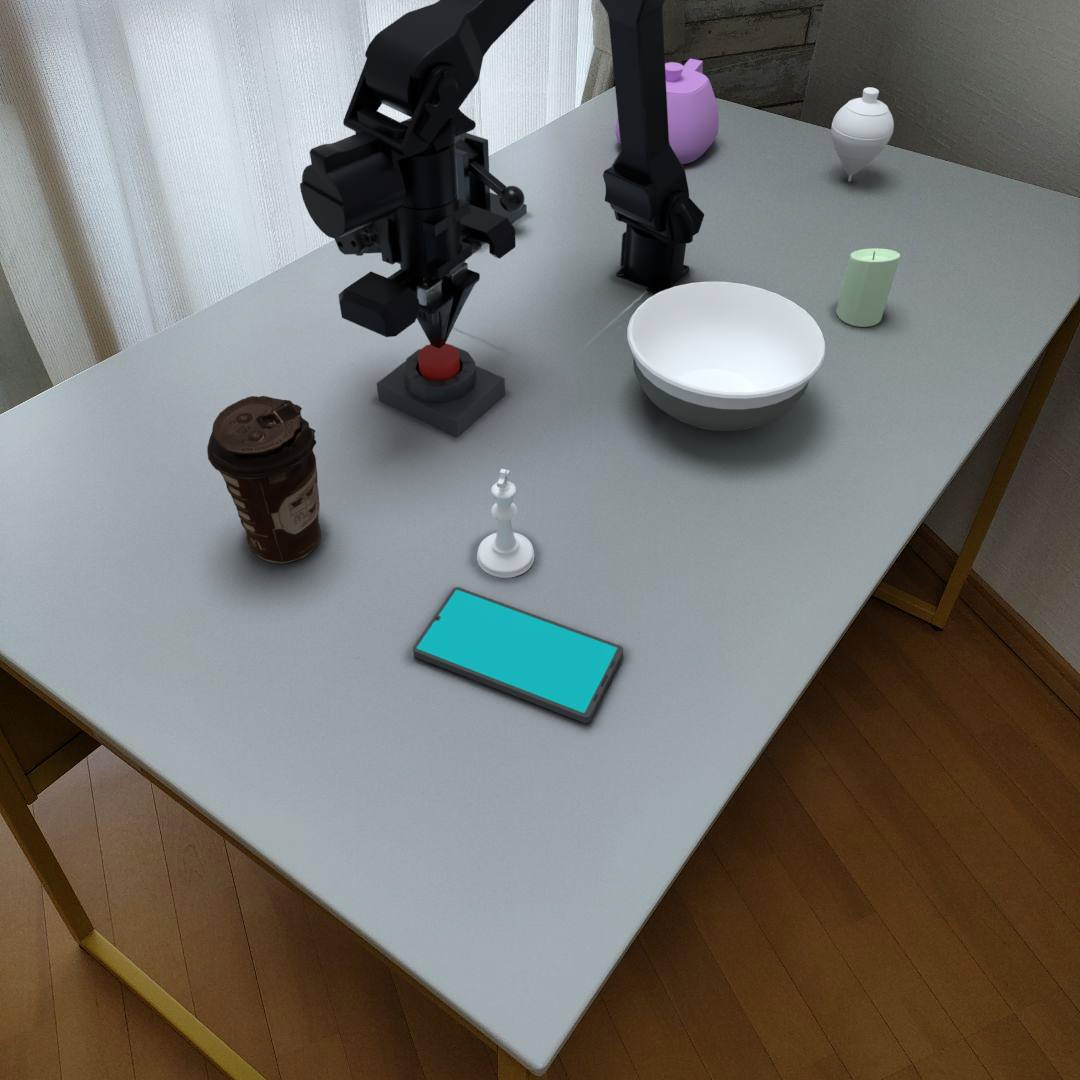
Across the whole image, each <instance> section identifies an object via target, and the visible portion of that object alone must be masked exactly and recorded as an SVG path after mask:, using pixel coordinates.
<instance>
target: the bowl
mask: <svg viewBox="0 0 1080 1080" xmlns="http://www.w3.org/2000/svg"><path fill="white" fill-rule="evenodd" d="M626 329H627V330H626V335H627V342H628V345H629V348H630V350H631V353H632V357H633V358H632V359H633V360H632V361H633V371H634V374H635V376H636V379H637V382H638V383H639V385H640V386H641V388H642V390H643V392H644V394H645V395H646V396H647V397H648V398H649V400H650V401H651V402H652V403H653V405H655V406H656V407H657V408H659V409H660V410H661V411H662V412H664V413H665V414H668V415H669V416H670V417H672V418H674V419H675V420H677V421H679V422H682V423H684V424H686V425H689V426H692V427H695V428H700V429H702V430H710V431H716V432H717V431H718V432H723V431H724V432H732V431H742V430H748V429H752V428H755V427H759V426H765V425H766V424H768V423H770V422H773V421H775V420H777V419H779V418H780V417H782V416H783V415H784V414H786V413H787V412H788V411H789V410H791V408H793V407H794V406H795V405H797V403H798V402H799V401H800V399H801V398H802V397H803V396H804V395H805V393H806V391H807V389H808V386H809V384H810V380H811V379H812V377H814V375H815V373H817V371H818V370H819V369H820V368H821V367H822V364H823V362H824V359H825V357H826V342H825V337H824V334H823V332H822V329H821V328H820V327H819V325H818V323H817V321H816V319H814V318H813V317H812V316H811V315H810V314H809V313H808V312H807V311H806V310H805V309H804V308H803V307H801V306H799V305H798V304H796V303H795V302H794V301H793V300H790V299H788V298H786V297H784V296H782V295H780V294H778V293H775V292H773V291H770V290H767V289H765V288H762V287H758V286H753V285H750V284H745V283H739V282H738V283H737V282H730V281H699V282H690V283H685V284H680V285H674V286H673V287H671V288H669V289H667V290H664V291H661V292H659V293H655V294H654V295H652V296H649V297H648V298H647V299H646V300H644V301H643V303H641V304H640V305H639V306H638V307H637V308H636V310H635V311H634V312H633V314H632V315H631V317H630V319H629V321H628V325H627V328H626Z"/></svg>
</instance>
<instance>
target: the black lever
mask: <svg viewBox="0 0 1080 1080" xmlns="http://www.w3.org/2000/svg"><path fill="white" fill-rule="evenodd" d="M455 147H456V149H459V150H462V151H465V152H468V166H469V171H470V172H471V173H472V174H473V175H474V176H476V177H477V178H478V179H479V180H480V181H482V182H483V183H484V184H485V185H486V186H488V187H489V188H490V191H492V192H494V194H496V195H498V196H500V198H499V199H500V204H501V206H502V207H503V209H505V210H506V211H508V212H516V211H518V210H520V209H521V208H522V206H523V204H525V193H524V192H523V190H522V189H521V188H520V187H519V186H517V185H509V186H506V185H505V184H504V183H503V182H502V181H500V179H498V178H497V177H496V176H494V174H492V173H491V172H490V171H489V172H488V171H487V170H486V169H485V168H484V167H482V166H481V165H480V164H479V163H478V162H476V159H477V156H478V152H476V151H475V150H474V149H473V148H472V147H470V146H469V145H468V144H467V143H466V142H464V141H463V140H462V139H460V140H459V141H457V142H455Z"/></svg>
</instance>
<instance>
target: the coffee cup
mask: <svg viewBox="0 0 1080 1080" xmlns="http://www.w3.org/2000/svg"><path fill="white" fill-rule="evenodd" d="M302 410H303V408H302V407H301V406H300V405H298V404H295V403H293V402H292V400H289V399H288V400H287V399H282V398H281V399H280V398H275V397H271V396H266V395H261V396H257V395H252V396H251V395H250V396H248V397H245V398H241V399H240V400H237V401H236V402H234V403H232V404H230V405H228V406H226V408H224V409H222V410H221V412H219V414H218V415H217V416H216V418H215V419H214V421H213V424H212V430H211V433H210V436H209V440H208V444H207V447H206V449H207V453H206V454H207V460H208V461H209V462H210V464H211V466H212V467H213V468H214V469H215V470H216V471H218V472H219V473H220V475H221V476H222V478H223V481H224V483H225V485H226V489H227V492H228V493H229V494H230V496H231V498H232V502H233V504H234V506H235V507H236V511H237V514H238V517H239V519H240V524H241V526H242V528H243V529H244V531H245V534H246V543H247V545H248V548H249V549H250V550H251V551H252V552H253V553H254V554H255V555H256V556H257V557H258V558H260V559H261V560H263V561H266V562H268V563H274V564H287V563H291V562H294V561H297V560H298V561H299V560H300V559H303V558H305V557H306V556H308V555H309V554H311V553H312V551H314V550H315V548H316V547H317V546H318V545H319V543H320V541H321V537H322V529H321V524H320V521H319V520H320V519H319V513H320V508H321V507H320V506H321V504H320V503H321V502H320V492H319V486H318V483H319V482H318V479H319V478H318V467H317V458H316V454H315V453H314V447H315V446H316V445H317V440H316V435H315V433H316V429H314V428H312V427H310V423H309V421H307V420H306V419H305V418H303V417H302Z"/></svg>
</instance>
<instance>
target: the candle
mask: <svg viewBox="0 0 1080 1080" xmlns="http://www.w3.org/2000/svg"><path fill="white" fill-rule="evenodd" d="M900 258H901V254H900V253H899V252H898V251H896V250H894V249H893V250H892V249H887V248H877V247H876V248H875V247H874V248H863V249H857V250H855V251H853V252H851V253H850V255H849V259H848V263H847V265H846V266H847V267H846V269H845V273H844V278H843V282H842V286H841V290H840V294H839V297H838V302H837V305H836V309H835V313H836V315H837V317H838V318H839V320H840V321H842V322H843V323H846V324H847V325H850V326H853V327H858V328H868V327H873V326H876V325H877V324H879V323H881V320H882V318H883V315H884V312H885V308H886V305H887V302H888V299H889V295H890V291H891V289H892V286H893V281H894V278H895V275H896V272H897V269H898V265H899V261H900Z"/></svg>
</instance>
